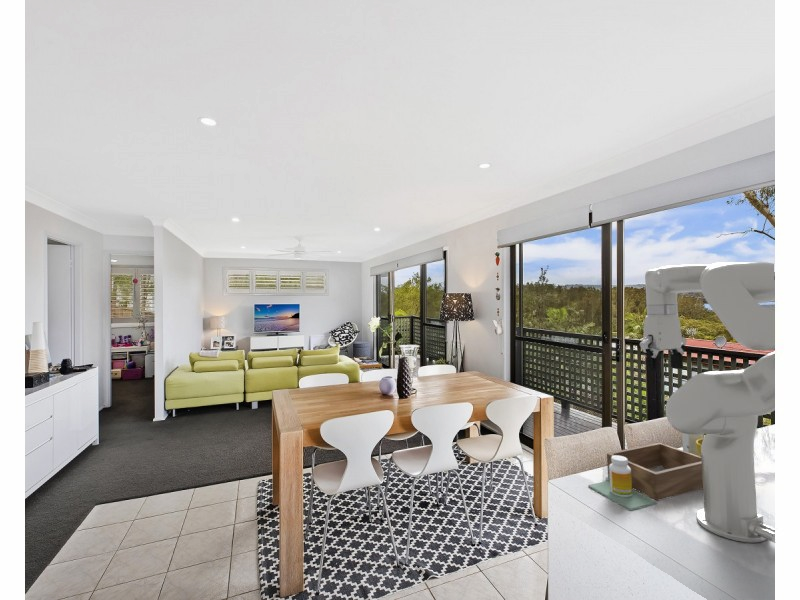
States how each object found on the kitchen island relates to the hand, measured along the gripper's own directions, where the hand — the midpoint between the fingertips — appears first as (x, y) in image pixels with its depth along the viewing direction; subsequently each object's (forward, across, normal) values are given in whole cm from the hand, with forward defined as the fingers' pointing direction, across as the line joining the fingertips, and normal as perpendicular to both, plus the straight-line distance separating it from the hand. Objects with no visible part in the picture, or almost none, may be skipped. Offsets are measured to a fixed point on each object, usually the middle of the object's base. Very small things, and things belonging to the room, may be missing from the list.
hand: (665, 369), depth 112 cm
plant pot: (+34, -17, +2) cm, 38 cm away
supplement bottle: (+33, +18, -1) cm, 38 cm away
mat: (+33, +18, -1) cm, 38 cm away
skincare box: (+34, -21, -8) cm, 40 cm away
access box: (+33, +1, -3) cm, 33 cm away
